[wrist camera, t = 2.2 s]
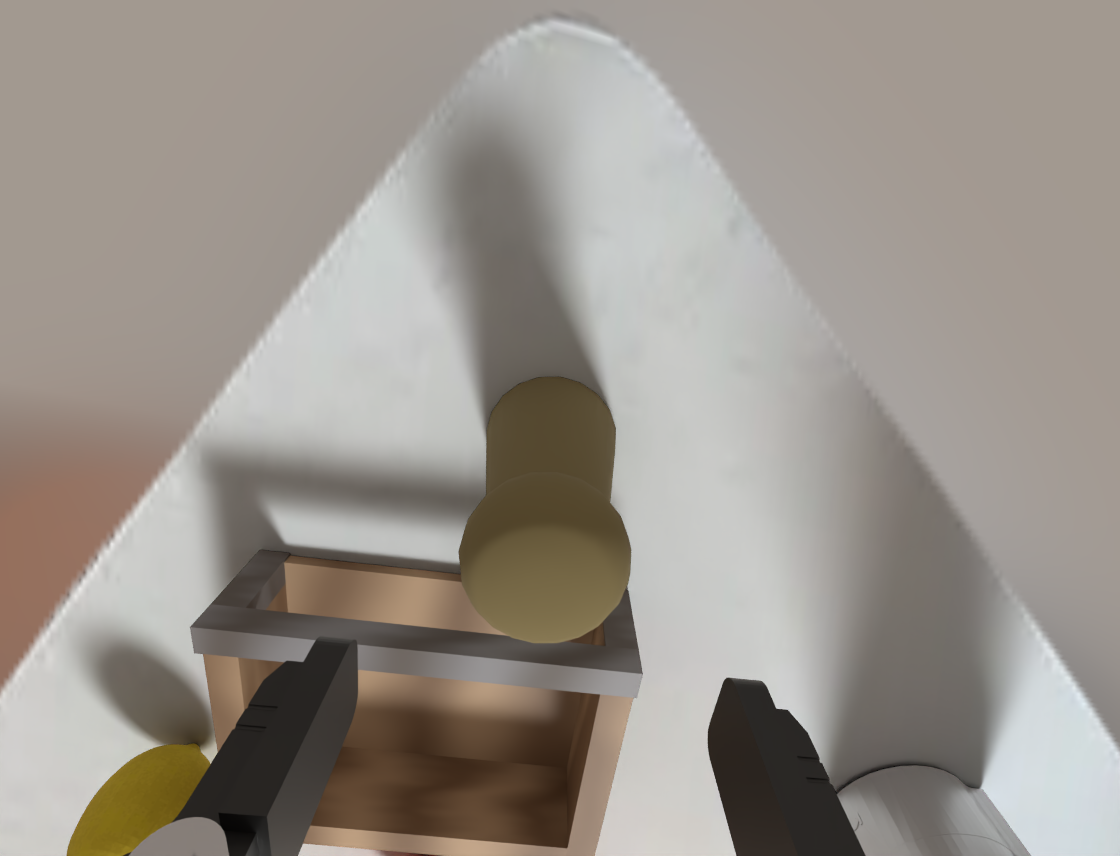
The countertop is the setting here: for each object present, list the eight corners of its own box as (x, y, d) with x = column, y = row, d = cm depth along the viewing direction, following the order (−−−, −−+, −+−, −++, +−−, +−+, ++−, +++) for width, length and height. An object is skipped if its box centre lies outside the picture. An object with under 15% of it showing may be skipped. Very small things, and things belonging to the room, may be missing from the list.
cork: (604, 503, 26) (631, 687, 16) (480, 487, 26) (427, 665, 16) (627, 385, 24) (675, 513, 14) (492, 367, 24) (439, 483, 13)
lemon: (145, 765, 33) (25, 924, 26) (150, 702, 31) (21, 855, 24) (236, 785, 34) (144, 946, 26) (246, 725, 32) (150, 880, 24)
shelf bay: (628, 590, 28) (642, 674, 23) (587, 777, 33) (591, 879, 28) (259, 549, 27) (190, 627, 22) (278, 748, 33) (224, 847, 27)
